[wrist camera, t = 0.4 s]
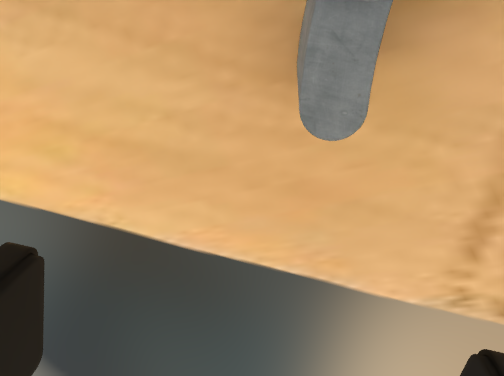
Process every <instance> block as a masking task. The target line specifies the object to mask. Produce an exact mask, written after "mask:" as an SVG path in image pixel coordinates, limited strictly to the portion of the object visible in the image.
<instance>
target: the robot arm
mask: <svg viewBox="0 0 504 376" xmlns="http://www.w3.org/2000/svg"><path fill="white" fill-rule="evenodd" d="M43 312H44V259H43V257H41V256H38V252H37V250H36V249H35V248H32V247H28V246H24V245H19V244H15V243H10V242H7V243H5V244H3V245H1V246H0V376H31V375H32V374H33V373H34V371H35V370H36V368H37V367H38V365H39V363H40V360H41V358H42V353H43V314H44V313H43ZM460 376H504V353H500V352H496V351H492V350H487V349H484V350H481V351H479V353H478V354H473V355H471V357H470V358H469V359H468V361H467V364H466V365H465V367H464V369H463V371H462V373H461V375H460Z"/></svg>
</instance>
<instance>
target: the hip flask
mask: <svg viewBox="0 0 504 376" xmlns="http://www.w3.org/2000/svg"><path fill="white" fill-rule="evenodd" d="M392 2H393V0H307V3H306V7H305V12H304V17H303V22H302V28H301V34H300V40H299V49H298V59H297V77H298V94H299V111H300V117H301V120H302V122H303V125H304V126H305V128H306V129H307V130H308V131H309V132H310V133H311V134H312V135H314V136H316V137H317V138H320V139H323V140H328V141H337V140H341V139H344V138H347V137H349V136H351V135H352V134H354V133H355V132H356V131H357V130H358V129H359V128H360V127H361V125H362V124H363V122H364V120H365V118H366V115H367V111H368V105H369V98H370V91H371V85H372V80H373V75H374V70H375V65H376V60H377V56H378V52H379V48H380V44H381V40H382V36H383V33H384V29H385V25H386V21H387V18H388V15H389V11H390V8H391V5H392Z"/></svg>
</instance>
